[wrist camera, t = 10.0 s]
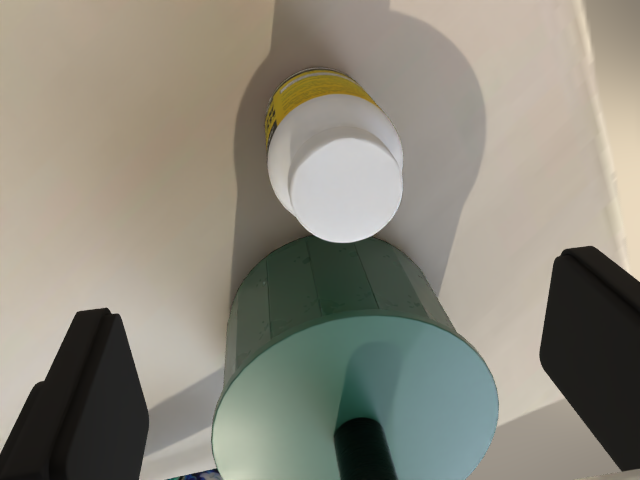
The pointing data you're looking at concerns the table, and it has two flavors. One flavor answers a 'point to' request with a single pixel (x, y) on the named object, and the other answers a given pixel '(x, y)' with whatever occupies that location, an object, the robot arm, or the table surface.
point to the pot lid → (357, 403)
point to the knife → (201, 476)
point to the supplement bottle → (333, 155)
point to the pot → (323, 290)
